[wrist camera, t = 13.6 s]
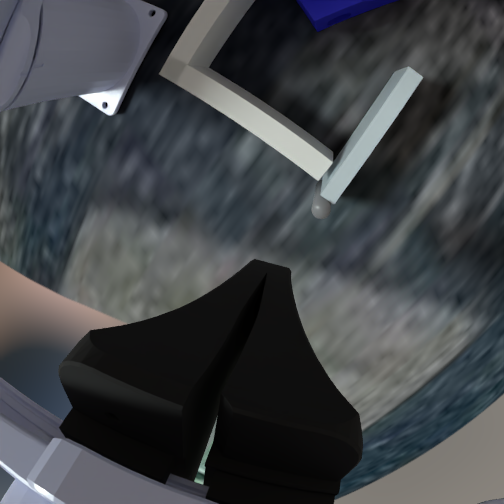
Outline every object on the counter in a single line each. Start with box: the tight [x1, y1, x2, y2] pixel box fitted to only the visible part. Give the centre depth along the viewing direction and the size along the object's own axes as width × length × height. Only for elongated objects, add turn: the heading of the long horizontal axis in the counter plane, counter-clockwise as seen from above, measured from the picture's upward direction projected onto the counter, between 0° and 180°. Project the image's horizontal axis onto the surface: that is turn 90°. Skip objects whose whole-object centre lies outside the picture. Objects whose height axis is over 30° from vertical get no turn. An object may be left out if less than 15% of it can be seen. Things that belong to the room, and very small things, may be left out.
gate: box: [312, 67, 423, 219], centre depth 15 cm, size 1×8×4 cm, turn 150°
